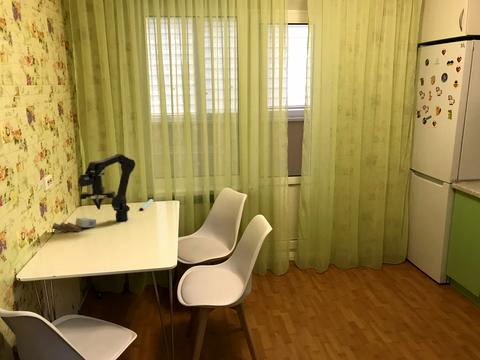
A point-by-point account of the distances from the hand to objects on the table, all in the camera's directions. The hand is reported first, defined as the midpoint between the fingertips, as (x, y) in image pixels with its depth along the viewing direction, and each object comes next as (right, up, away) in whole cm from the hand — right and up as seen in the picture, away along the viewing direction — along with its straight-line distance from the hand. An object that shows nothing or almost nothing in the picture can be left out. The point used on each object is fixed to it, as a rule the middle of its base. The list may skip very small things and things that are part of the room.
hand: (99, 209), depth 231 cm
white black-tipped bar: (+15, -3, +48) cm, 51 cm away
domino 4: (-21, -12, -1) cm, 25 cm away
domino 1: (-11, -12, -1) cm, 16 cm away
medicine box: (-5, -9, +2) cm, 10 cm away
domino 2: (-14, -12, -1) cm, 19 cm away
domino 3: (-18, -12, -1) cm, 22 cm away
